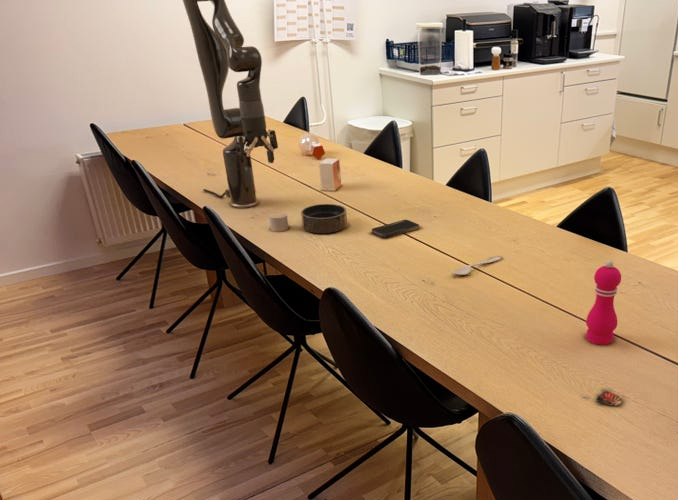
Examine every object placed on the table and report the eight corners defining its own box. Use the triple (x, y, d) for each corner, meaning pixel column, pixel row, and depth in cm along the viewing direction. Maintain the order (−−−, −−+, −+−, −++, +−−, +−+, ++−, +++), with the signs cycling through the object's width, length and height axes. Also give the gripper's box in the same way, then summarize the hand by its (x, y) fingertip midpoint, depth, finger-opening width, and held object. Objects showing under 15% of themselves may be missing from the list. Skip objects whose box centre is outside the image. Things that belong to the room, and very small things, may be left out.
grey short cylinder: (267, 228, 227) (265, 214, 225) (282, 224, 230) (281, 210, 228) (276, 232, 223) (274, 219, 221) (292, 228, 227) (290, 215, 224)
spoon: (447, 275, 194) (447, 270, 193) (494, 256, 207) (494, 250, 206) (458, 280, 192) (458, 274, 191) (505, 259, 204) (505, 254, 203)
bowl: (294, 226, 229) (292, 210, 226) (330, 216, 237) (329, 201, 234) (319, 238, 219) (317, 221, 217) (356, 227, 228) (355, 211, 225)
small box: (334, 191, 262) (332, 164, 257) (321, 190, 263) (318, 163, 258) (341, 185, 269) (339, 158, 264) (328, 184, 270) (326, 157, 264)
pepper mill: (580, 331, 165) (589, 254, 155) (609, 330, 166) (620, 254, 156) (588, 346, 159) (598, 267, 149) (618, 345, 160) (630, 266, 150)
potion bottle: (308, 154, 315) (321, 165, 305) (291, 144, 308) (304, 155, 298) (318, 137, 313) (332, 147, 303) (301, 126, 306) (315, 137, 296)
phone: (370, 229, 223) (405, 219, 231) (370, 232, 223) (406, 222, 232) (384, 235, 218) (420, 225, 226) (384, 239, 218) (420, 228, 227)
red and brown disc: (595, 402, 139) (595, 400, 139) (602, 389, 143) (602, 387, 143) (617, 408, 138) (618, 406, 137) (624, 395, 141) (624, 393, 141)
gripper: (264, 110, 227) (271, 159, 235) (226, 116, 218) (235, 167, 226) (277, 112, 222) (284, 162, 230) (239, 119, 213) (248, 171, 221)
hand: (260, 165), depth 228 cm, fingers open, 8 cm apart
